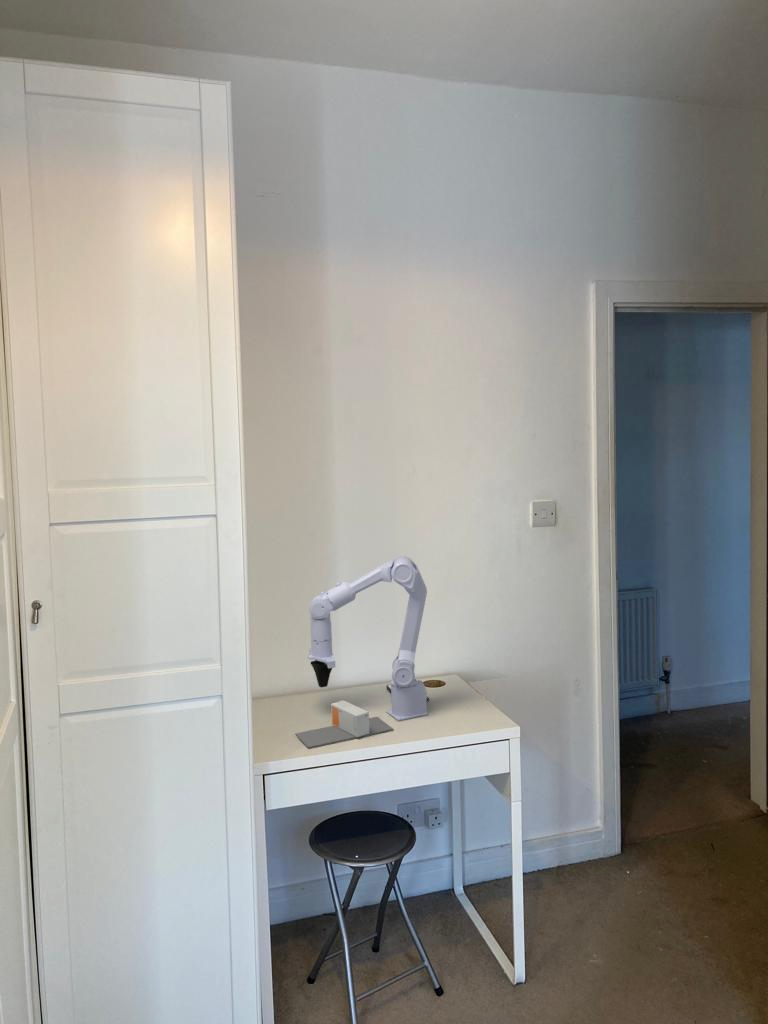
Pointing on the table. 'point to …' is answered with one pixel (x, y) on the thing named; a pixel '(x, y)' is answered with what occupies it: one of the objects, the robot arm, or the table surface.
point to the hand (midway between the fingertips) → (323, 686)
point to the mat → (339, 734)
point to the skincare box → (350, 718)
